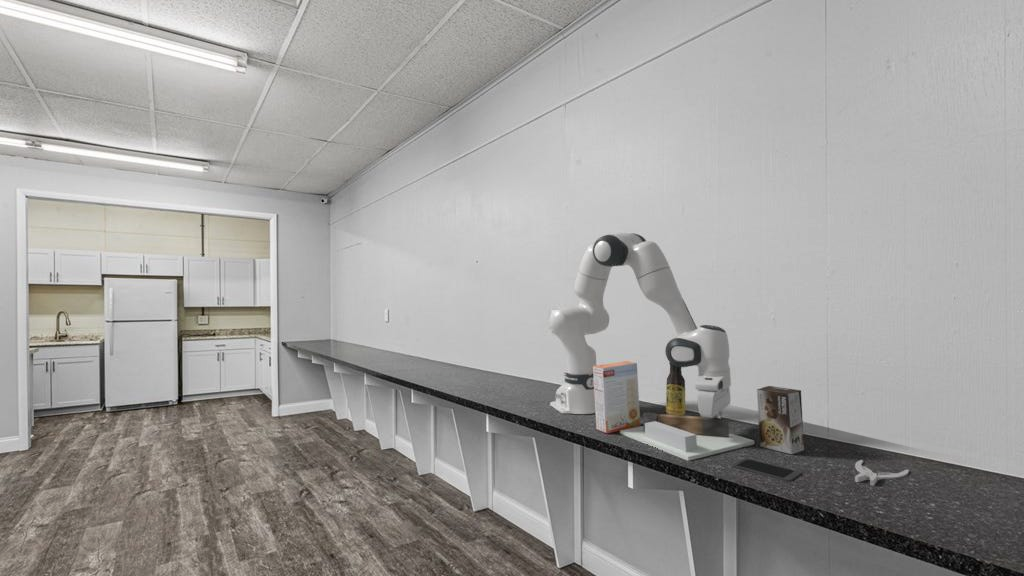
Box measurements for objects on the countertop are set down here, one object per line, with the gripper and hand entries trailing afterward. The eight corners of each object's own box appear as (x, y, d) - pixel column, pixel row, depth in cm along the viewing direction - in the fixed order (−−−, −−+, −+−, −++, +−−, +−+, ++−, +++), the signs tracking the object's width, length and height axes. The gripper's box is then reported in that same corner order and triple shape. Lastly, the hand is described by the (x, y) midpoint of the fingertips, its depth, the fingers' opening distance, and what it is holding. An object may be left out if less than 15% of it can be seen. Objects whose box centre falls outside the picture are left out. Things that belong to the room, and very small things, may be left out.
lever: (642, 430, 148) (641, 415, 148) (645, 426, 152) (644, 412, 152) (728, 437, 138) (728, 421, 138) (729, 433, 142) (728, 417, 142)
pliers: (909, 466, 113) (891, 484, 103) (910, 473, 113) (891, 492, 103) (859, 456, 120) (838, 472, 111) (860, 462, 120) (838, 479, 111)
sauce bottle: (664, 419, 165) (661, 360, 165) (669, 414, 170) (666, 358, 170) (683, 421, 161) (681, 361, 161) (688, 416, 167) (686, 359, 167)
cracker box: (628, 422, 162) (626, 360, 162) (641, 427, 157) (638, 362, 157) (594, 429, 156) (592, 364, 156) (606, 434, 151) (603, 367, 151)
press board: (620, 433, 151) (619, 417, 151) (680, 421, 161) (680, 406, 161) (688, 460, 125) (687, 441, 125) (754, 444, 136) (753, 426, 136)
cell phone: (789, 483, 110) (789, 480, 110) (730, 467, 121) (729, 464, 121) (803, 475, 114) (803, 471, 114) (744, 460, 125) (744, 457, 125)
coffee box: (805, 450, 130) (802, 390, 130) (791, 455, 126) (788, 393, 126) (772, 441, 137) (769, 385, 137) (758, 446, 134) (756, 388, 134)
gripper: (713, 373, 155) (715, 416, 155) (692, 384, 139) (695, 432, 139) (734, 374, 151) (736, 418, 151) (715, 386, 135) (718, 435, 135)
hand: (716, 425), depth 145 cm, fingers closed
